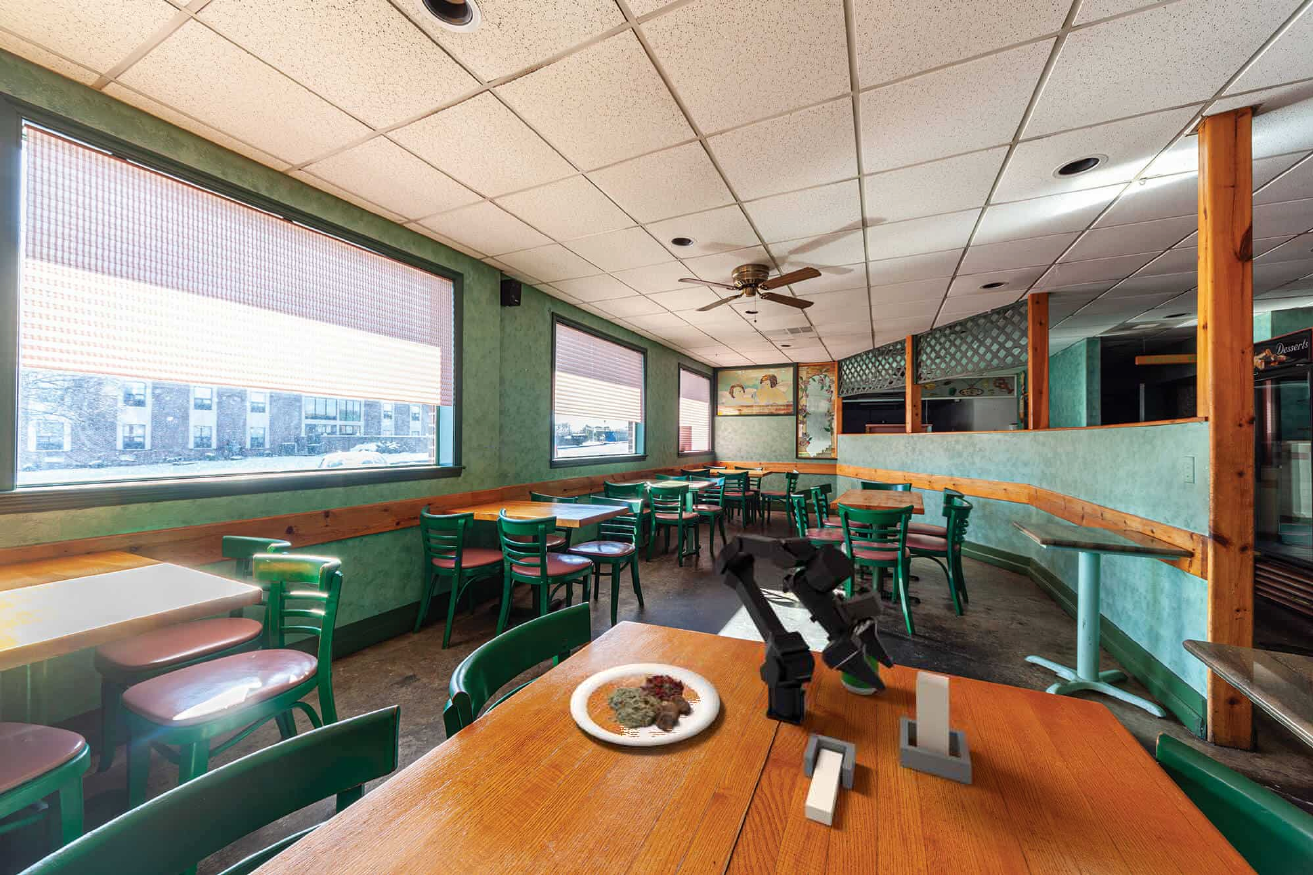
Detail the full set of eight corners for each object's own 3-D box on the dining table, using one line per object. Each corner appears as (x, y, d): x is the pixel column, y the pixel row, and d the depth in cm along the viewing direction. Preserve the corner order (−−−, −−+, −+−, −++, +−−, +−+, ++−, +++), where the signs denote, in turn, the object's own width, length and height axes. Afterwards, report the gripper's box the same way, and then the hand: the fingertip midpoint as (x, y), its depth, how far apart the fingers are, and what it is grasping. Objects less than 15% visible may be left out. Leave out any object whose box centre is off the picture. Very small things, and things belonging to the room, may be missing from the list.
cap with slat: (792, 812, 69) (792, 791, 69) (811, 750, 83) (811, 732, 83) (844, 830, 66) (844, 808, 66) (855, 762, 80) (855, 744, 80)
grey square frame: (899, 765, 79) (899, 746, 79) (900, 732, 88) (900, 716, 88) (971, 784, 74) (971, 765, 74) (964, 748, 83) (964, 731, 83)
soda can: (882, 698, 100) (882, 640, 100) (844, 695, 101) (843, 637, 101) (874, 680, 107) (873, 626, 107) (838, 677, 108) (837, 624, 109)
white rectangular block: (917, 759, 80) (916, 681, 81) (919, 745, 84) (918, 670, 84) (948, 769, 78) (947, 688, 78) (949, 754, 82) (948, 677, 82)
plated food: (548, 748, 84) (548, 728, 84) (591, 668, 114) (591, 653, 114) (721, 760, 81) (721, 740, 81) (719, 674, 111) (718, 660, 111)
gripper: (842, 587, 76) (922, 675, 70) (862, 561, 92) (930, 632, 85) (792, 627, 80) (864, 713, 74) (820, 596, 96) (882, 665, 90)
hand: (888, 677), depth 81 cm, fingers open, 9 cm apart
